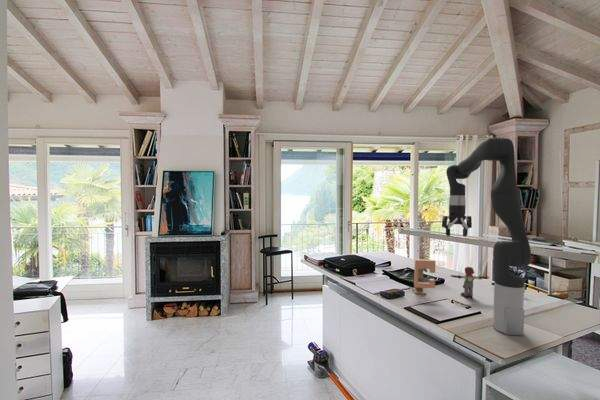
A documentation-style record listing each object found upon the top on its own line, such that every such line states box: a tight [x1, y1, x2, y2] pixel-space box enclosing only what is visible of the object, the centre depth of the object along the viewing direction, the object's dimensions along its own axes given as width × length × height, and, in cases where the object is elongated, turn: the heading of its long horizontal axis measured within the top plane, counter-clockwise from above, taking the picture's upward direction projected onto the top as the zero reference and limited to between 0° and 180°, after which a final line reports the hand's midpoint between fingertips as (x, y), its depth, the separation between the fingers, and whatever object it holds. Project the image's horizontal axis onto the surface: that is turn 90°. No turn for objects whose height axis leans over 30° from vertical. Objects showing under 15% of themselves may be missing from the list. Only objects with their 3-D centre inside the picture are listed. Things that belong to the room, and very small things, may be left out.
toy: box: [450, 266, 490, 299], centre depth 151 cm, size 18×6×15 cm, turn 84°
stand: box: [411, 269, 428, 296], centre depth 153 cm, size 16×5×16 cm, turn 173°
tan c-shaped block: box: [413, 258, 436, 289], centre depth 148 cm, size 2×9×13 cm, turn 83°
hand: (456, 236), depth 157 cm, fingers open, 8 cm apart
